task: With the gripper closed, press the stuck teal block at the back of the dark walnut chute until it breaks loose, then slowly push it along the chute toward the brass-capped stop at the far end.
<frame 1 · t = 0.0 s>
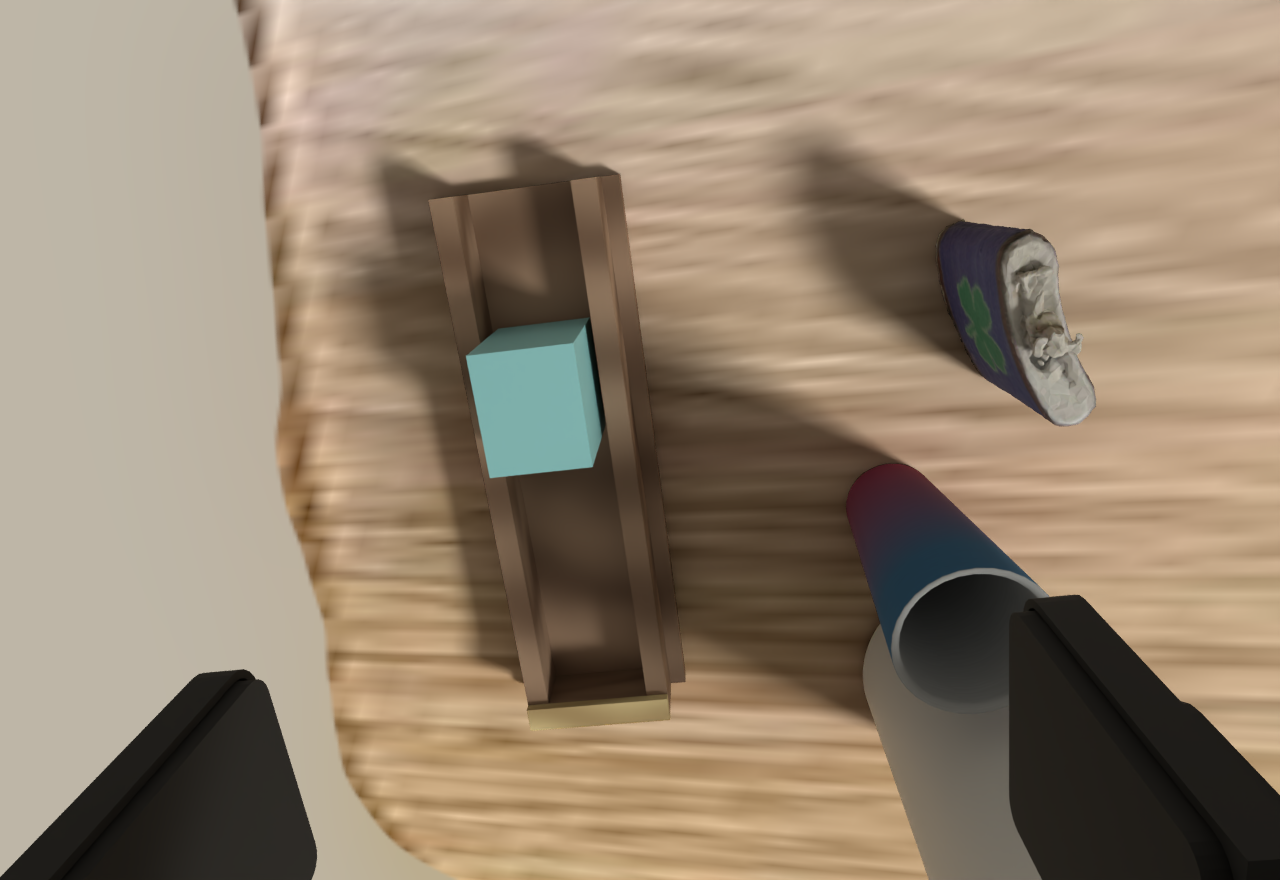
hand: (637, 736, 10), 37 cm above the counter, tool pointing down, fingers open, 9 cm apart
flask: (975, 303, 45), on the counter
block: (542, 393, 42), point 5 cm above the counter, slide at 0.0 cm
cup: (889, 502, 48), on the counter
cylinder vase: (962, 661, 51), on the counter
chute: (570, 455, 48), on the counter
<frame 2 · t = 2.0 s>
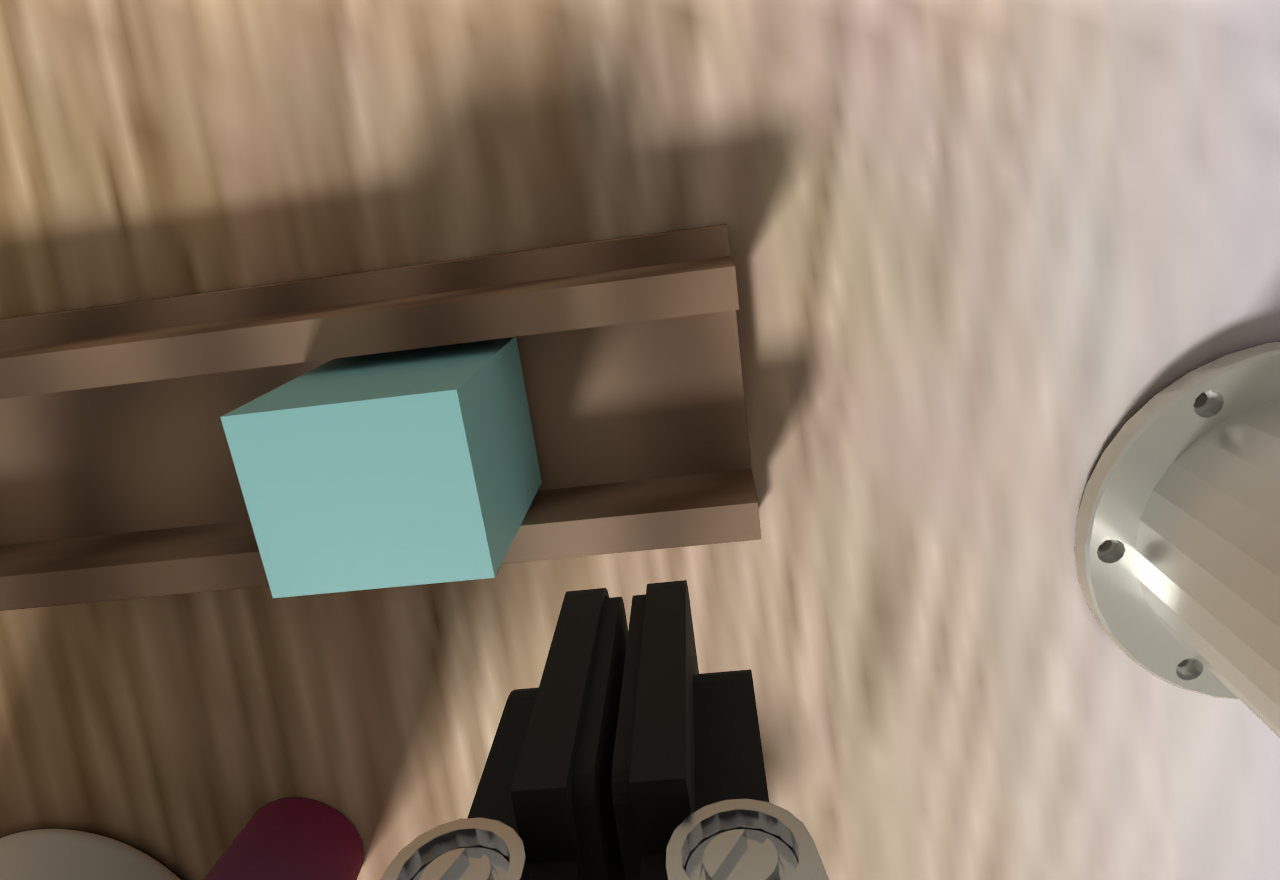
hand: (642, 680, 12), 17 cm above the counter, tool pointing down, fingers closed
block: (406, 454, 24), point 5 cm above the counter, slide at 0.0 cm
cup: (307, 842, 35), on the counter
chute: (313, 425, 29), on the counter
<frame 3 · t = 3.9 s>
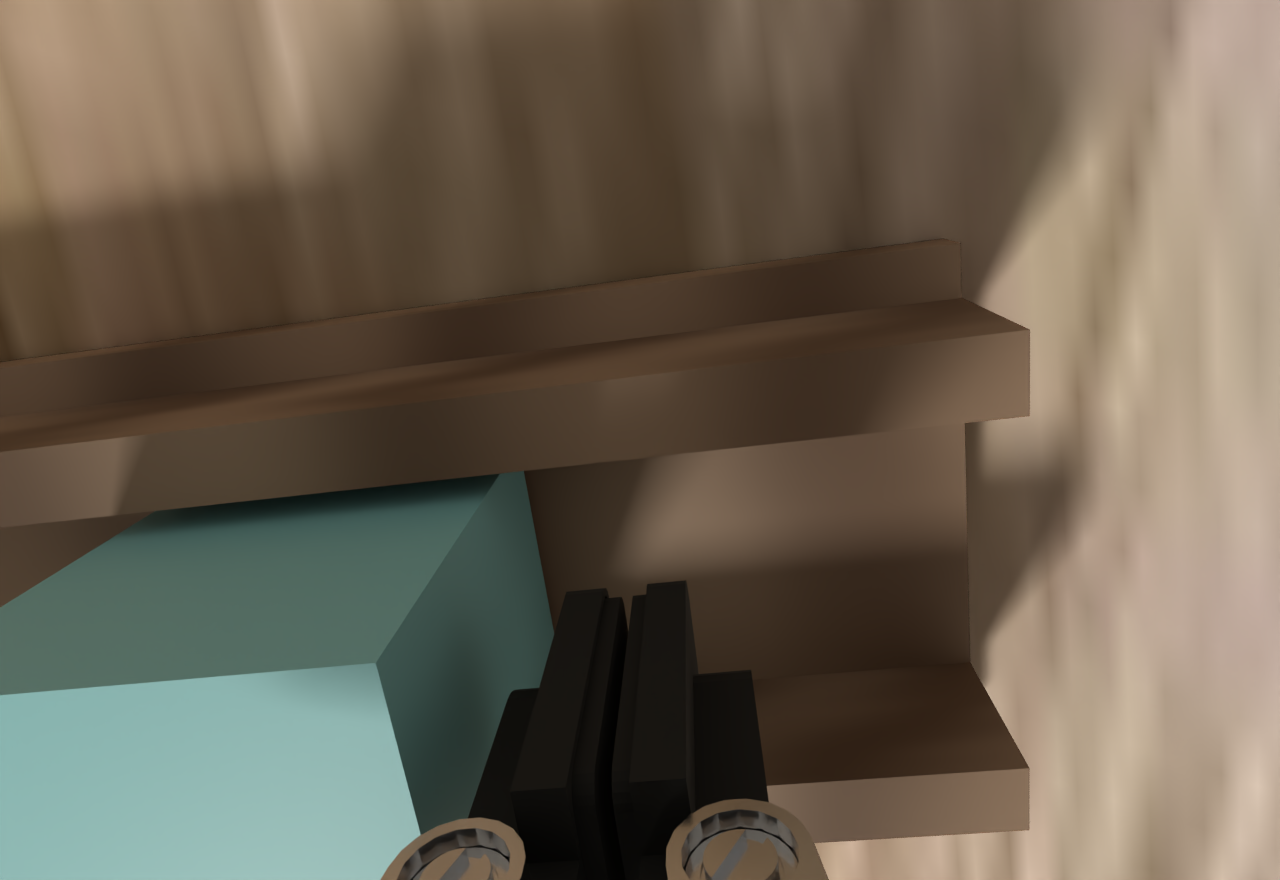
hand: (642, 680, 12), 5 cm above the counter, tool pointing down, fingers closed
block: (308, 694, 13), point 5 cm above the counter, slide at 0.8 cm, touching gripper
chute: (220, 575, 18), on the counter
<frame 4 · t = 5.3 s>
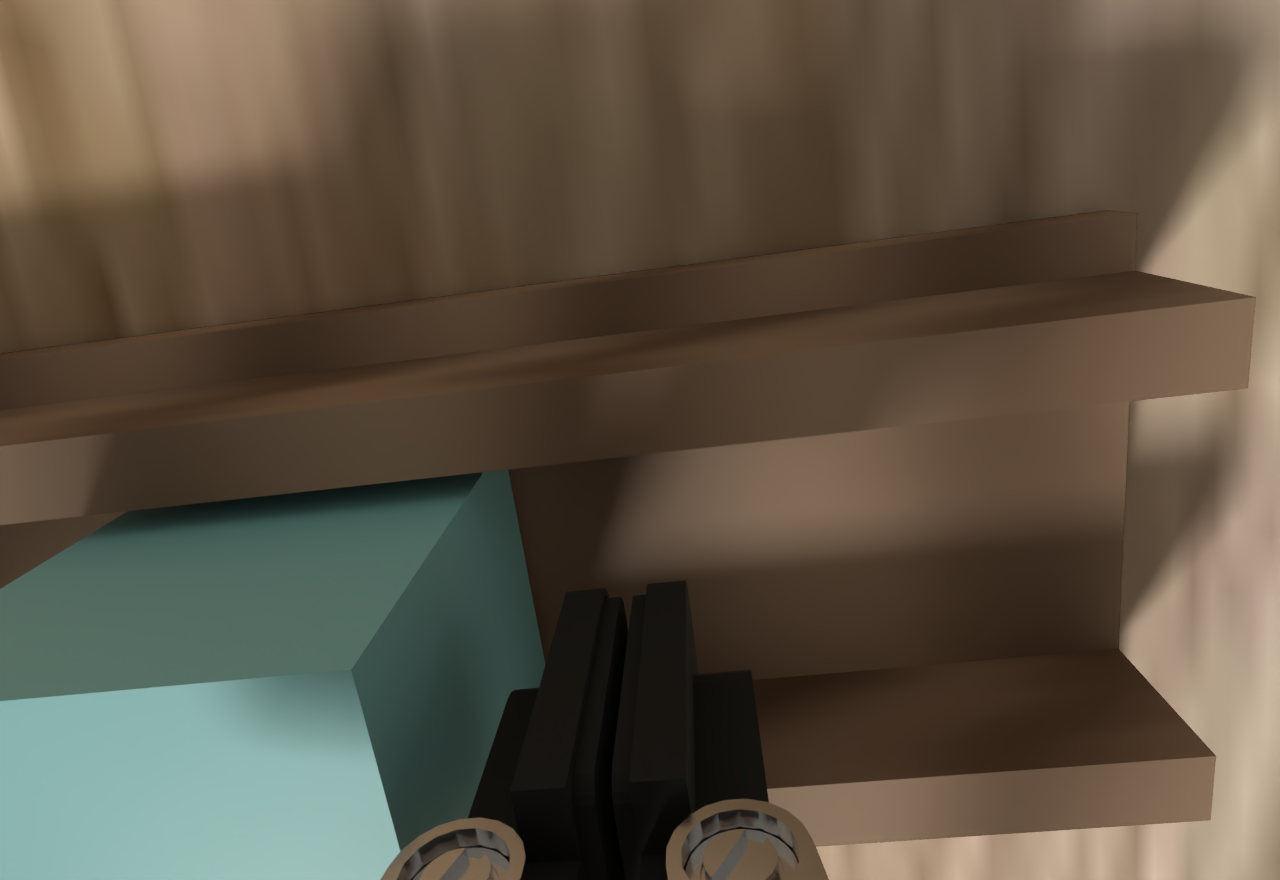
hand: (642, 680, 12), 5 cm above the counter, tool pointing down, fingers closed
block: (285, 699, 12), point 5 cm above the counter, slide at 3.7 cm, touching gripper
chute: (331, 562, 17), on the counter
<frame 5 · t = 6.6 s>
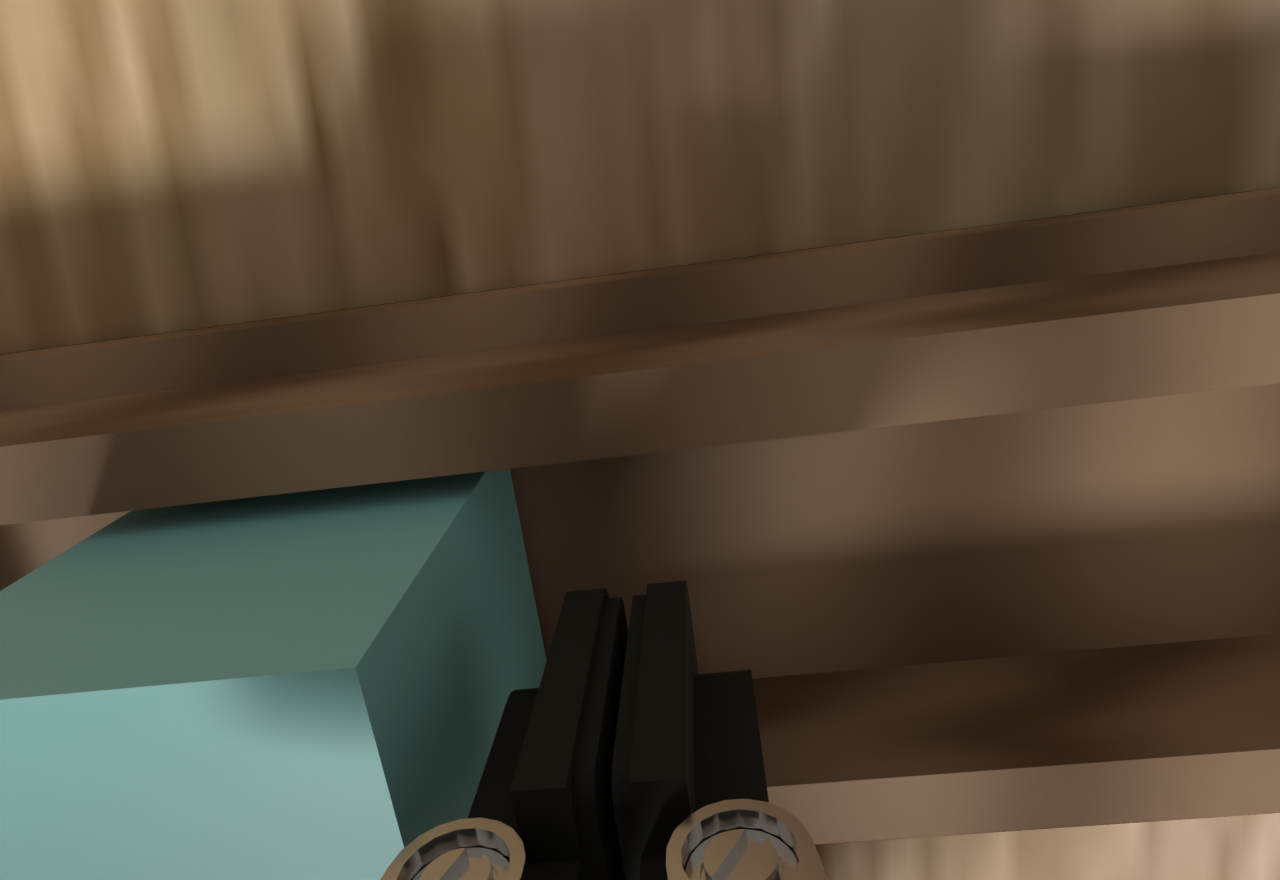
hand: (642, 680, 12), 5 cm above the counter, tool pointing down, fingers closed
block: (288, 698, 12), point 5 cm above the counter, slide at 10.1 cm, touching gripper
chute: (645, 530, 16), on the counter
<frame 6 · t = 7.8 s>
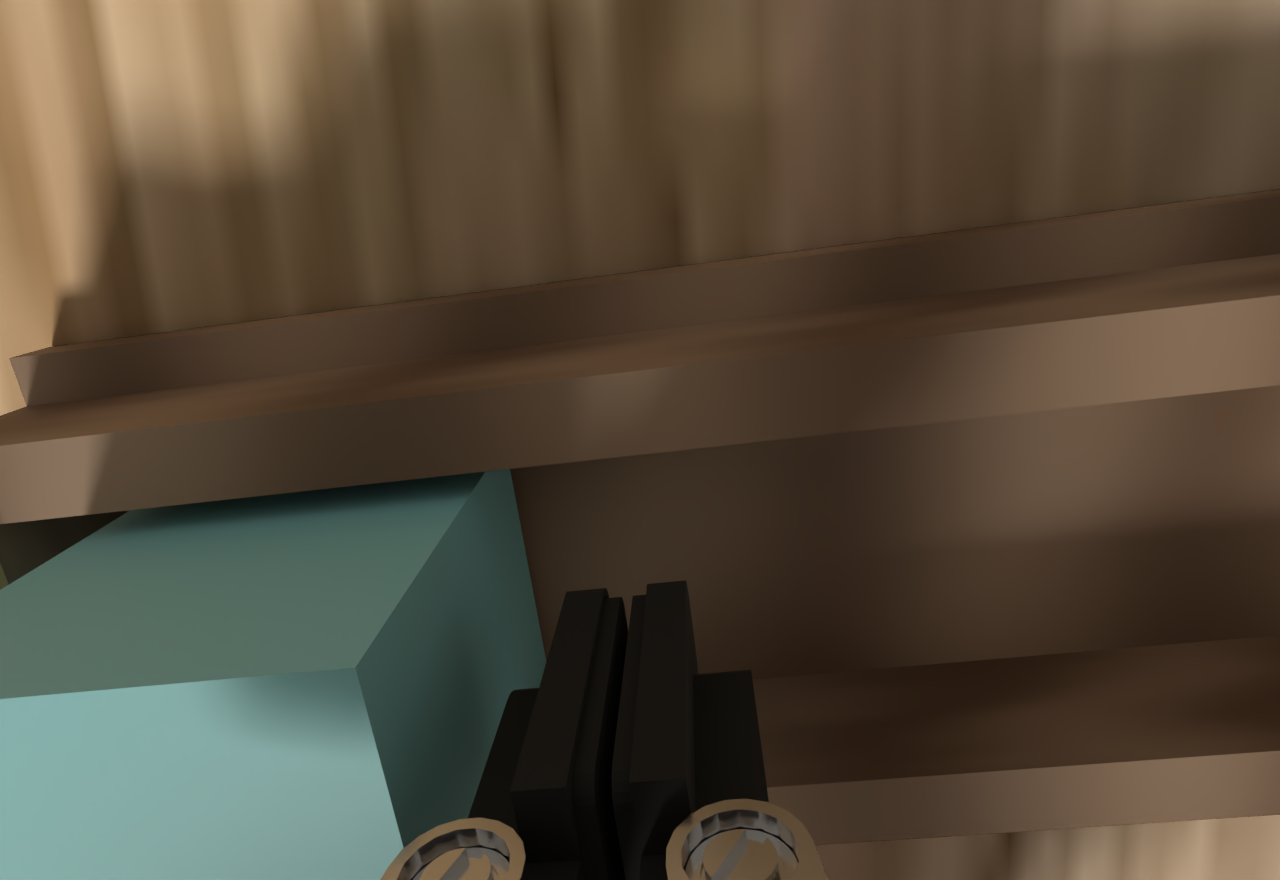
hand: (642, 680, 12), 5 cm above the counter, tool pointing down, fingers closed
block: (288, 697, 12), point 5 cm above the counter, slide at 14.3 cm, touching gripper
chute: (861, 508, 16), on the counter
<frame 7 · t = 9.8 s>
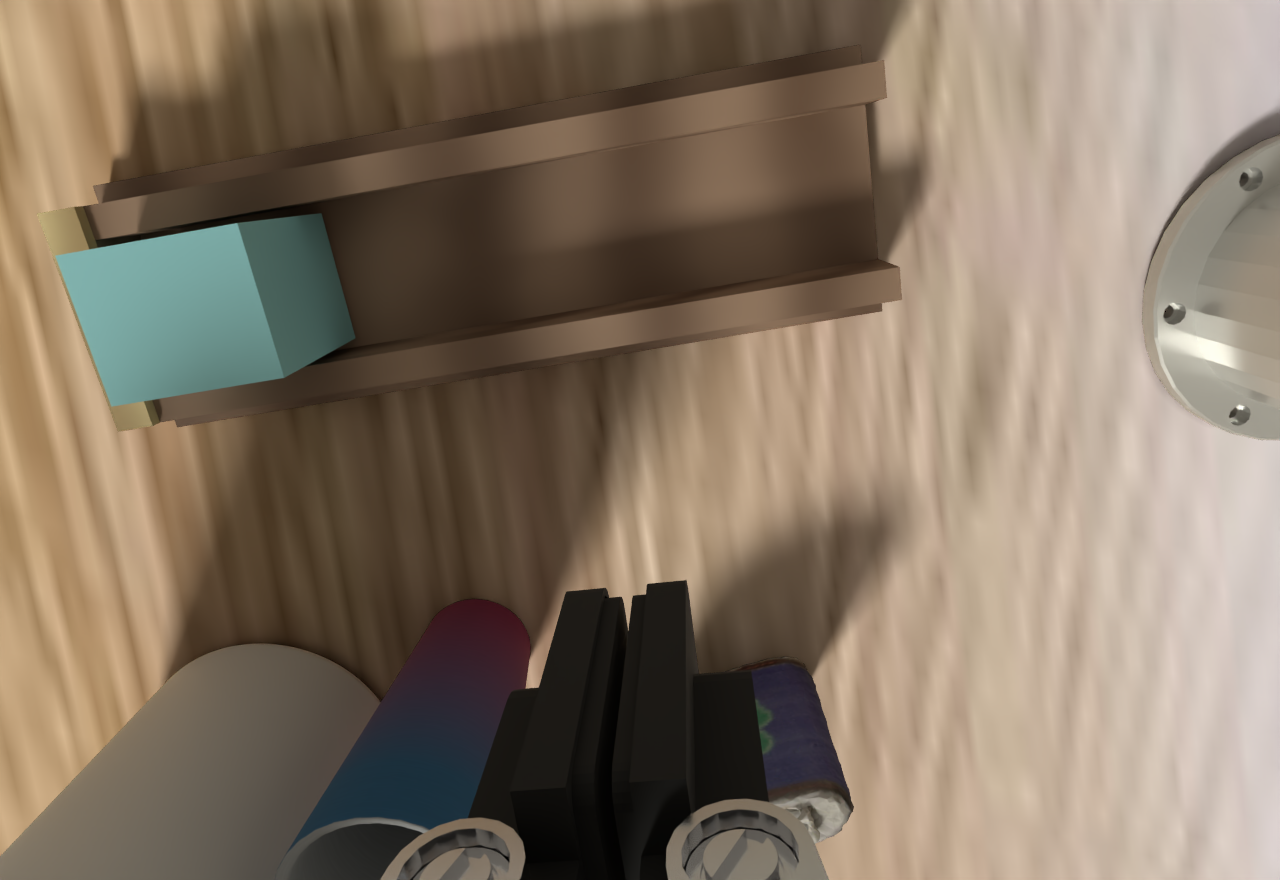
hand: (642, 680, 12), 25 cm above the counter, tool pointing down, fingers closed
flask: (720, 699, 41), on the counter
block: (224, 302, 30), point 5 cm above the counter, slide at 14.3 cm
cup: (479, 643, 40), on the counter
cylinder vase: (283, 743, 42), on the counter
chute: (498, 247, 34), on the counter
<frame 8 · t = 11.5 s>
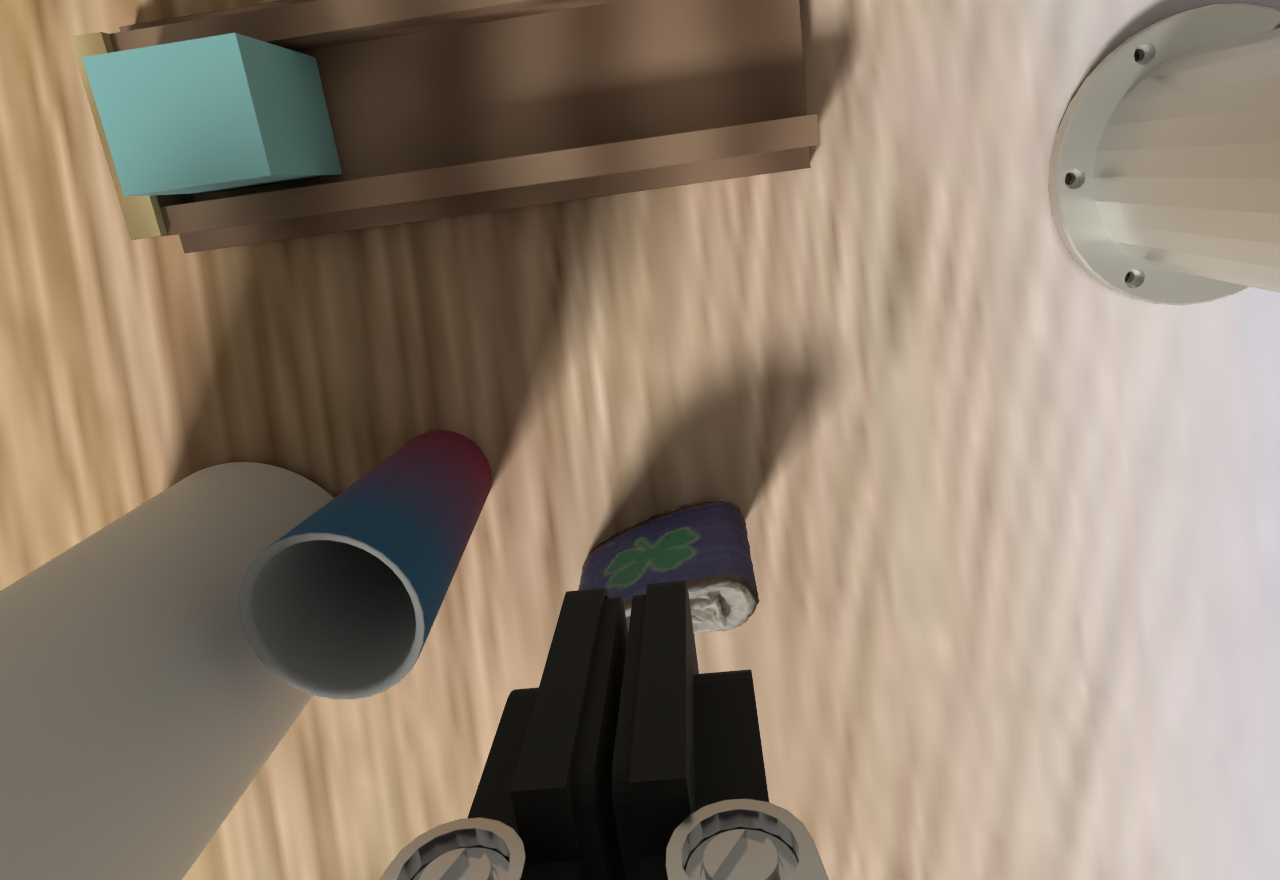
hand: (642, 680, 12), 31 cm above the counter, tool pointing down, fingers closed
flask: (662, 538, 45), on the counter
block: (226, 122, 35), point 5 cm above the counter, slide at 14.3 cm
cup: (445, 473, 45), on the counter
cylinder vase: (269, 561, 47), on the counter
chute: (471, 99, 39), on the counter
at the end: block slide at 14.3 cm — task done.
